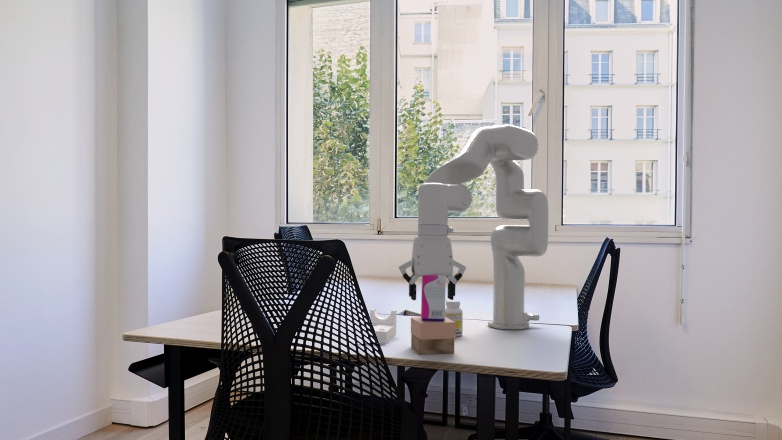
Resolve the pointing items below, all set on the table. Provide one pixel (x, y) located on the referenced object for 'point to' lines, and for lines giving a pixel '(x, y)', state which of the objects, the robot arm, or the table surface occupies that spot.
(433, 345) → the tower bottom
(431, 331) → the tower top
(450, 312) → the supplement bottle
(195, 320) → the table surface
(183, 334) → the table surface
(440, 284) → the supplement box
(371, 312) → the bracket
